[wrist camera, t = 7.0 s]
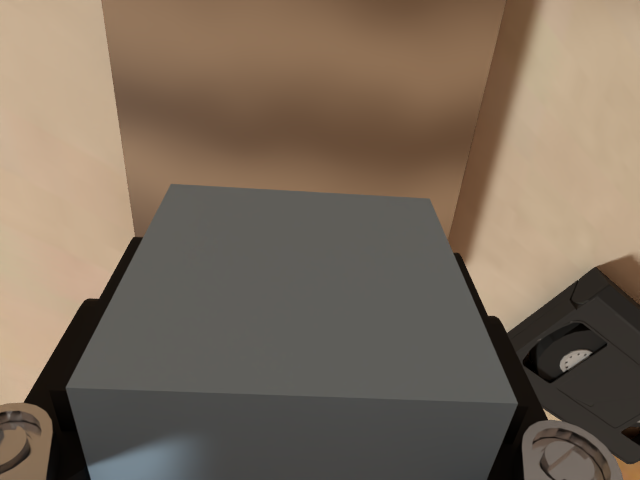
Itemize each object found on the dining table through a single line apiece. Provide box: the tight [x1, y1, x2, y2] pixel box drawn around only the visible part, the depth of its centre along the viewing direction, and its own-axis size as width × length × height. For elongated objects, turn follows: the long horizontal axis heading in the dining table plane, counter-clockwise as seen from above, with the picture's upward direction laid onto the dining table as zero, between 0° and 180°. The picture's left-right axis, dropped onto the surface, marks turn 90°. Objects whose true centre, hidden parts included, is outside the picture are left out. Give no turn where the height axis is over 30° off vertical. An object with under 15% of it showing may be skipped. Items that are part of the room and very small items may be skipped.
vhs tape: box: [507, 267, 640, 464], centre depth 30 cm, size 14×8×2 cm, turn 51°
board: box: [101, 0, 506, 240], centre depth 21 cm, size 18×14×2 cm
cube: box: [66, 184, 518, 480], centre depth 9 cm, size 5×5×5 cm
